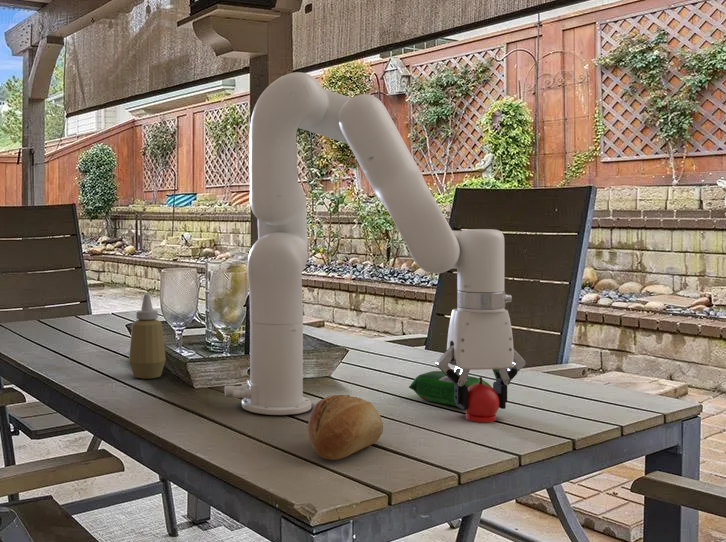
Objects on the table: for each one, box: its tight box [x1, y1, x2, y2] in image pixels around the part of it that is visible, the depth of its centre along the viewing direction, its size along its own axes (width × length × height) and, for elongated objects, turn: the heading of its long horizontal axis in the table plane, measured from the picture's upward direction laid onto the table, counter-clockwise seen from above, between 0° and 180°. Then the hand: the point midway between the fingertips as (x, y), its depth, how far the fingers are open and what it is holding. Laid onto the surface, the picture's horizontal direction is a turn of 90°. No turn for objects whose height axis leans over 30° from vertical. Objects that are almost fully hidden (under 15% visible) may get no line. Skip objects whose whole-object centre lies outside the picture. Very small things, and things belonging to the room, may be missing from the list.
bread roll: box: [307, 394, 384, 461], centre depth 110 cm, size 10×15×8 cm, turn 146°
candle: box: [464, 376, 500, 423], centre depth 128 cm, size 6×6×7 cm
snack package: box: [408, 370, 492, 407], centre depth 139 cm, size 7×16×5 cm, turn 36°
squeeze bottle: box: [128, 293, 166, 380], centre depth 164 cm, size 8×8×18 cm
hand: (480, 406), depth 128 cm, fingers closed on candle, 5 cm apart
